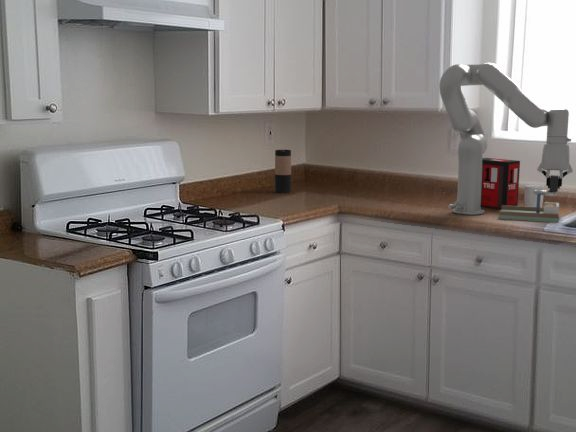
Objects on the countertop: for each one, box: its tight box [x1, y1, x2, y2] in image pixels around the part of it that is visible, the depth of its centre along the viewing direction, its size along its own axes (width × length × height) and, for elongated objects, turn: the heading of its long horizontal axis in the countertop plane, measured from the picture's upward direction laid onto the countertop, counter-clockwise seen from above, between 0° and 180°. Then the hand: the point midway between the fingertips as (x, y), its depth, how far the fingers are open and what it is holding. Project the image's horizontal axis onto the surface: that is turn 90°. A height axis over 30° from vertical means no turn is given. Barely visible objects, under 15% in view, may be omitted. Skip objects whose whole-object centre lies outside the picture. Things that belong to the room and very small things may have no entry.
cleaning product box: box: [481, 157, 521, 210], centre depth 338 cm, size 16×9×20 cm, turn 43°
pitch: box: [498, 205, 560, 223], centre depth 313 cm, size 22×16×3 cm
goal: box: [543, 201, 560, 215], centre depth 311 cm, size 6×11×4 cm, turn 161°
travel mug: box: [274, 149, 292, 194], centre depth 377 cm, size 8×8×20 cm
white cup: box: [524, 184, 545, 207], centre depth 331 cm, size 8×8×10 cm
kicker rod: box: [534, 174, 560, 213], centre depth 310 cm, size 9×6×15 cm
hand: (553, 187), depth 309 cm, fingers closed on kicker rod, 3 cm apart
